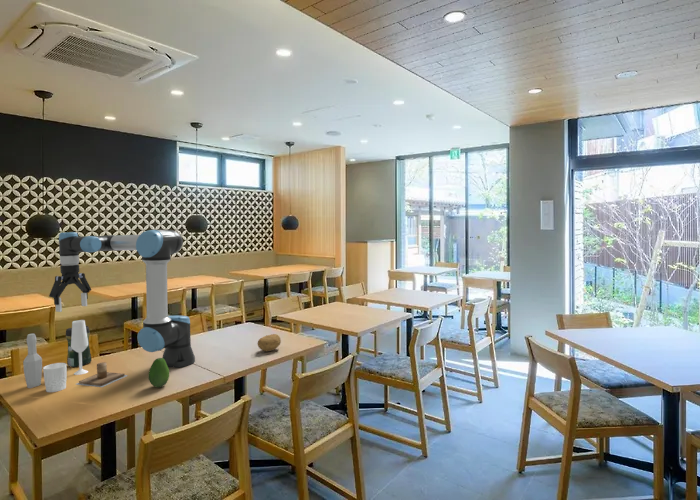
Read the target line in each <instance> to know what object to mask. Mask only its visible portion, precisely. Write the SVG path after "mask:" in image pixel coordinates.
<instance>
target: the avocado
mask: <svg viewBox="0 0 700 500" xmlns="http://www.w3.org/2000/svg"><path fill="white" fill-rule="evenodd" d="M147 378H148V380H149V383H150V384H151V386H153V387H155V388H162V387H164V386H165V385H166V384H167V383H168V381H169V378H170V369H169V367H168V366H167V364H166V362H165V360H164V359H163V358H162V357H158V358H155V360H153V362H152V364H151V365H150V368H149V371H148V377H147Z"/></svg>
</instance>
